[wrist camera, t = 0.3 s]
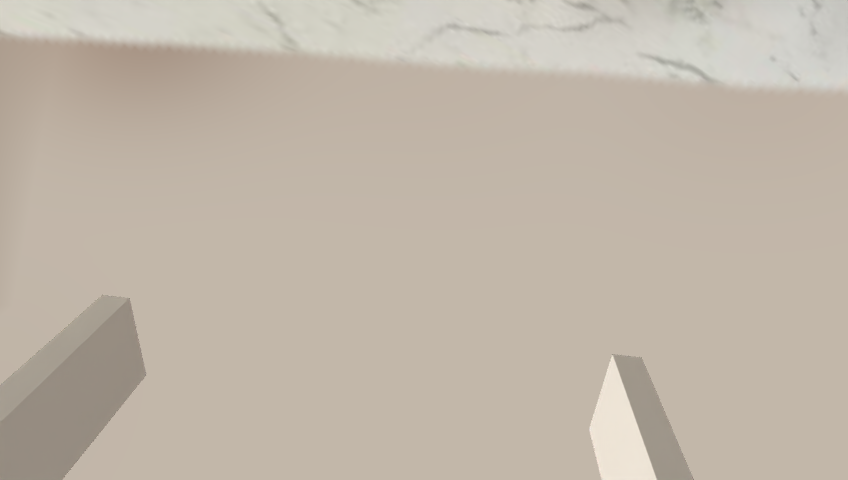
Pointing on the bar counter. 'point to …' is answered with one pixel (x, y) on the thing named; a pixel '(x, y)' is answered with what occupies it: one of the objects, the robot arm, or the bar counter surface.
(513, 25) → the bar counter surface
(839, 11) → the bar counter surface
